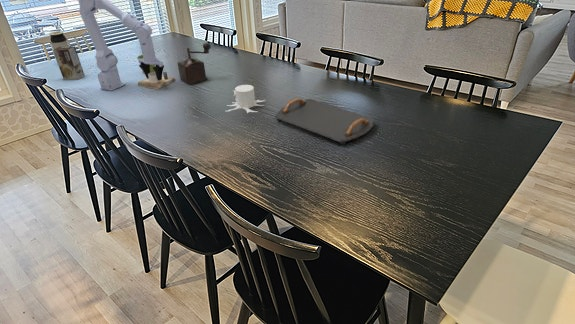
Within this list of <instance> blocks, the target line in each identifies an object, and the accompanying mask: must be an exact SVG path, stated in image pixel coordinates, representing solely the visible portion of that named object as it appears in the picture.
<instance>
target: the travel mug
mask: <svg viewBox="0 0 575 324" xmlns="http://www.w3.org/2000/svg"><path fill="white" fill-rule="evenodd" d="M48 35H49V36H50V42H51V45H52V48H53V50H54V49H56V48H58V47H66V46H69V43H68V41H67V37H66V36H65V34H64V31H62V30H58V31H57V30H56V31H51V32H49V33H48Z"/></svg>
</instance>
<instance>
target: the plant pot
mask: <svg viewBox="0 0 575 324" xmlns="http://www.w3.org/2000/svg"><path fill="white" fill-rule="evenodd" d="M136 58H137V60H138V59H141V58H143V54H140V55H138V56H137V57H136ZM140 64H141V63H139V65H140ZM155 66H156V65H150V73H151V72H155V71H154V69H153V67H155Z"/></svg>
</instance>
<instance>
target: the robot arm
mask: <svg viewBox="0 0 575 324" xmlns="http://www.w3.org/2000/svg"><path fill="white" fill-rule="evenodd" d="M77 2H78V4H79V15H80V17H81V19H82V21H83V24H84V26H85V29H86V30H87V32H88V35H89V38H90V40H91V42H92V44H93V47H94V49H95V51H96V53H95V56H94V57H95V58H94V59H96V66H97V68H98V69H99V70H100V72H99V73H98V74H97V79H98V82H99V85H100V87H99V89H100V90H106V91H110V92H111V91H114V90H117V89H119V88H121V87H123V86H126V83H124V82H122V80H121V77H120V73H119V69H118V67H117V64H118V62H119V61H118V60H119V59H118V57H117V56H116V55H115V53H114V52H113V50H112V49H110V48H109V47H108V45H107V41H106V40H105V37H104V35H103V33H102V30H101V27H100V25H99V24H98V22H97V19H96V15H95V13H96V11H97V10H105V11H106V12H108V13H109V14H111V15H112V16H114V17H115V18H117V19H119V20H120V22H121V25H123V26H124V27H126V28H127V29H128V30H129V31H131V32H132V33H134V35H135V37H136V39H138V42H139V45H140V49H141V53H142V54H141V55H143V58H141V59H137V61H138V67H139V68H140V69H141V70H142V72H143V74H144V76H145V77H146V79H147V78H149V77H148V74H149V73H150V65H155V67H153V69H154V71H155V73H156V76H157V79H158V80H162V76H163V72H164V68H165V65H164V61H161V60H159V59H158V58H157V56H156V53H155V52H156V51H155V48H154V43H153V38H152V34H153V30H152V27H151V26H150V25H149V24H148V23H144V22H142V21H140V20H138V19H137V18H136V17H134V14H132V13H131V14H130V13H124V11H123V10H121V9H120V8H118V7H117V6H116V5H115V4H114V3H112V2H111V1H110V0H77ZM140 63H141V64H140Z"/></svg>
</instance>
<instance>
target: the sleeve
mask: <svg viewBox="0 0 575 324" xmlns="http://www.w3.org/2000/svg"><path fill="white" fill-rule="evenodd" d="M148 77H149V81H150V85H158V84H161V81H160V80H158V79H157V76H156V73H155V72H151V73H149V74H148Z"/></svg>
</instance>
